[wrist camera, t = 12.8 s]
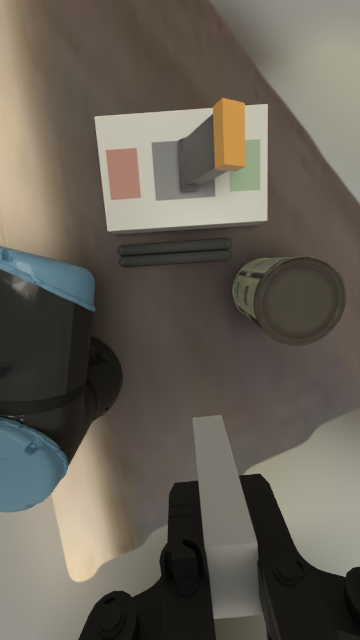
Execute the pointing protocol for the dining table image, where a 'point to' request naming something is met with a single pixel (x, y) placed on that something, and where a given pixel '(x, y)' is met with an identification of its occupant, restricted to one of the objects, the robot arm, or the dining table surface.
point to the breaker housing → (176, 174)
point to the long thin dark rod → (174, 257)
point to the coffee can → (291, 297)
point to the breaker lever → (213, 146)
